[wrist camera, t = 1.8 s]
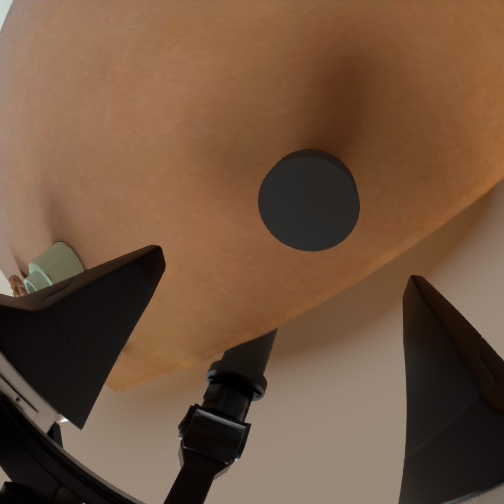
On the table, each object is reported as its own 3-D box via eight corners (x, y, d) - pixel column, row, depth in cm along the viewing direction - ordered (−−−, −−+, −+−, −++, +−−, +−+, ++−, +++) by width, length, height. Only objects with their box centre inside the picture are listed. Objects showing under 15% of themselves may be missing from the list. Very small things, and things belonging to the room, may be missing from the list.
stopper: (366, 195, 17) (376, 227, 13) (303, 226, 19) (292, 265, 15) (327, 127, 15) (325, 136, 11) (262, 166, 18) (238, 189, 14)
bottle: (92, 275, 31) (55, 310, 25) (77, 290, 35) (47, 321, 29) (61, 233, 29) (21, 263, 23) (50, 253, 33) (17, 281, 26)
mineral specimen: (20, 294, 45) (1, 300, 38) (27, 268, 44) (7, 272, 38) (50, 326, 45) (32, 336, 39) (58, 300, 45) (38, 308, 38)
